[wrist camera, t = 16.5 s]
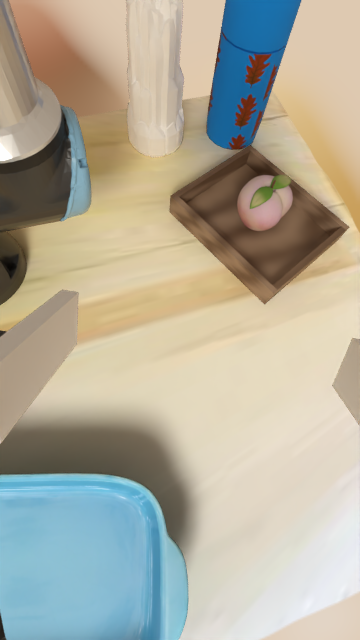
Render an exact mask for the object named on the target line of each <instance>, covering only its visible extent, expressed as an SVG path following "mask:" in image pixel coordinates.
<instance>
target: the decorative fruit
mask: <svg viewBox="0 0 360 640" xmlns="http://www.w3.org/2000/svg"><path fill="white" fill-rule="evenodd" d="M290 183H291V178H290V177H289V176H287V175H277V176H275V177H274V176H270V175H261V176H257V177H255V178H253V179H252V180H250V181H249V182H248V183H247V184H246V185H245V186H244V187H243V188H242V190H241V192H240V194H239V196H238V201H237V208H238V213H239V216H240V218H241V220H242V222H243V223H244V224H245V225H246V226H247V227H248V228H250V229H251V230H255V231H265V230H268V229H270V228H272V227H274V226H275V225H276V224H277V223H278V222H279V220H280V219H281V218H282V217H283V216H284V215H285V214H286V213H287V212H288V210H289V209H290V207H291V205H292V201H293V196H292V191H291V188H290V187H289V184H290Z"/></svg>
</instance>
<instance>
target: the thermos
mask: <svg viewBox="0 0 360 640" xmlns="http://www.w3.org/2000/svg"><path fill="white" fill-rule="evenodd" d="M300 3H301V0H226V3H225V9H224V15H223V21H222V27H221V33H220V40H219V46H218V52H217V58H216V64H215V72H214V77H213V83H212V89H211V95H210V101H209V108H208V117H207V134H208V136H209V138H210V139H211V140H212V141H213V142H214V143H215V144H217V145H219V146H221V147H223V148H227V149H231V150H233V149H242V148H245V147H247V146H249V145H250V144H251V143H252V142H253V140H254V138H255V135H256V133H257V130H258V127H259V125H260V122H261V120H262V117H263V114H264V111H265V108H266V105H267V102H268V99H269V96H270V93H271V90H272V87H273V84H274V81H275V78H276V75H277V72H278V69H279V66H280V63H281V59H282V57H283V54H284V50H285V48H286V45H287V41H288V39H289V36H290V33H291V30H292V27H293V24H294V21H295V18H296V15H297V12H298V9H299V6H300Z"/></svg>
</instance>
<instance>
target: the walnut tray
mask: <svg viewBox="0 0 360 640" xmlns="http://www.w3.org/2000/svg"><path fill="white" fill-rule="evenodd" d="M261 175H270V176H274V177H275V176H277V175H286V174H285V173H283V172H282V171H281V170H280V169H279V168H277V167H276V166H275V165H274V164H272V163H271V162H270V161H269V160H268V159H266V158H265V157H264V156H263V155H262V154H260V153H259V152H258V151H257V150H256V149H254V148H253V147H252V146H251V145H250V146H248V147H247V148H245V149H243V150H242V151H240V152H239V153H237V154H236V155H234V156H232V157H231V158H229V159H228V160H226V161H225V162H223V163H221V164H220V165H218V166H217V167H215V168H214V169H212V170H210V171H209V172H207V173H206V174H204V175H203V176H201V177H199V178H198V179H196V180H195V181H193V182H192V183H190V184H188V185H187V186H185V187H184V188H182V189H181V190H179V191H177V192H176V193H174V194H173V195H171V198H170V213H171V214H172V215H173V216H174V217H175V218H176V219H177V220H178V221H180V222H181V223H182V224H183V225H184V226H185V227H186V228H187V229H188V230H189V231H190V232H191V233H192V234H193V235H194V236H195V237H196V238H197V239H198V240H199V241H200V242H201V243H202V244H203V245H204V246H205V247H206V248H207V249H208V250H209V251H210V252H211V253H212V254H213V255H214V256H215V257H216V258H218V259H219V260H220V261H221V262H222V263H223V264H224V265H225V266H226V267H227V268H228V269H229V270H230V271H231V272H232V273H233V274H234V275H235V276H236V277H237V278H238V279H239V280H240V281H241V282H242V283H243V284H244V285H245V286H246V287H247V288H248V289H249V290H250V291H251V292H252V293H253V294H254V295H256V296H257V297H258V298H259V299H260V300H261V301H262V302H263V303H264V304H266V303H267V302H268V301H269V300H270V299H271V298H272V297H274V296H275V295H276V294H277V293H278V292H279V291H280V290H282V289H283V288H284V287H285V286H286V285H287V284H288V283H290V282H291V281H292V280H293V279H294V278H295V277H296V276H298V275H299V274H300V273H301V272H302V271H303V270H304V269H306V268H307V267H308V266H309V265H310V264H311V263H312V262H314V261H315V260H316V259H317V258H318V257H319V256H320V255H322V254H323V253H324V252H325V251H326V250H327V249H328V248H330V247H331V246H332V245H333V244H334V243H335V242H336V241H337V240H338V239H339V238H340V237H341V236H342V235H343V234H344V233H345V232H346V231H347V229H348V228H349V226H348V225H346V224H345V223H344V222H343V221H341V220H340V219H339V218H338V217H337V216H335V215H334V214H333V213H332V212H331V211H329V210H328V209H327V208H326V207H325V206H323V205H322V204H321V203H320V202H318V201H317V200H316V199H315V198H314V197H312V196H311V195H310V194H309V193H308V192H306V191H305V190H304V189H303V188H302V187H300V186H299V185H298V184H297V183H295V182H294V181H293V180H292V179H291V183H290V184H289V187H290V188H291V191H292V196H293V201H292V205H291V207H290V209H289V210H288V212H287V213H286V214H285V215H284V216H283V217H282V218H281V219H280V220H279V222H278V223H277V224H276V225H275V226H274V227H272V228H270V229H268V230H265V231H255V230H251V229H250V228H248V227H247V226H246V225H245V224H244V223H243V222H242V220H241V218H240V216H239V213H238V208H237V201H238V196H239V194H240V192H241V190H242V188H243V187H244V186H245V185H246V184H247V183H248V182H249V181H250V180H252V179H253V178H255V177H257V176H261Z"/></svg>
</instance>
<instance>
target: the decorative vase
mask: <svg viewBox="0 0 360 640" xmlns="http://www.w3.org/2000/svg"><path fill="white" fill-rule="evenodd" d="M126 7H127V18H126V29H127V45H128V60H129V63H128V69H127V73H128V88H129V103H128V111H127V126H128V138H129V140H130V143H131V144H132V146H133V147H134V148H135V149H136V150H137V151H138V152H139V153H141V154H143V155H146V156H150V157H164V156H165V155H169V154H171V153H173V152H175V151H176V150H177V149H178V148H179V146H180V144H181V142H182V138H183V127H184V115H183V108H182V95H183V83H184V77H183V74H182V71H181V68H180V65H179V61H180V47H181V33H182V18H183V0H126Z"/></svg>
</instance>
